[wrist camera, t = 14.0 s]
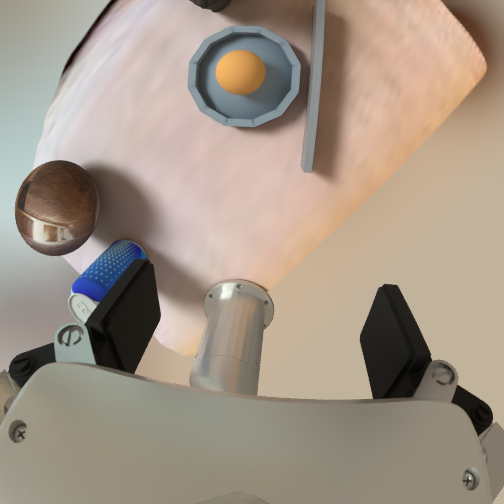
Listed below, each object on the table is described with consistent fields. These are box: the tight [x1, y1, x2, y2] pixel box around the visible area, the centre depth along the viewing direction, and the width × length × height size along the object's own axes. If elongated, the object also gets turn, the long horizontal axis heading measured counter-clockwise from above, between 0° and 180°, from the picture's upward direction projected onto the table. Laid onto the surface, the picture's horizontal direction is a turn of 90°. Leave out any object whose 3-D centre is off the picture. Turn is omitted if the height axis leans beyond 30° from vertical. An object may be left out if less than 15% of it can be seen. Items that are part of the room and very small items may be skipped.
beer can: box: [68, 240, 148, 325], centre depth 41 cm, size 8×8×16 cm
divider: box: [301, 0, 325, 173], centre depth 30 cm, size 24×1×4 cm, turn 176°
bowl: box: [188, 26, 301, 127], centre depth 31 cm, size 14×14×2 cm
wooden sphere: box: [15, 160, 100, 256], centre depth 36 cm, size 15×15×15 cm
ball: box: [216, 50, 266, 95], centre depth 29 cm, size 6×6×6 cm
